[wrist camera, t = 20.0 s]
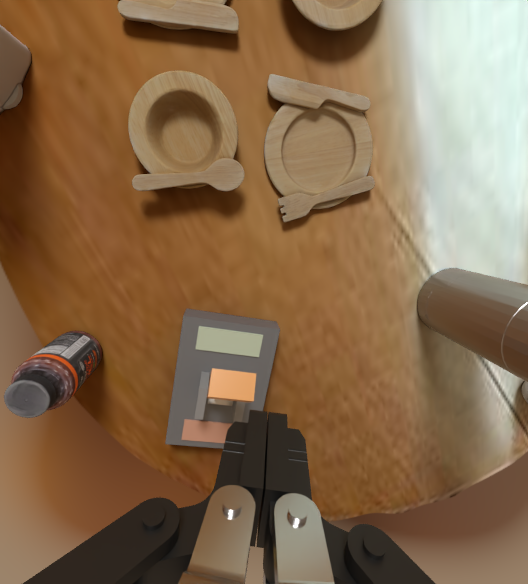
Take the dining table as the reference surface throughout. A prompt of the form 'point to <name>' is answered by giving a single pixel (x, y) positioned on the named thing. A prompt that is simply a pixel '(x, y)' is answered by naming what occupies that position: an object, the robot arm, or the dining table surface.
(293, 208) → the tableware set
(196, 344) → the switch block
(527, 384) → the frog figurine
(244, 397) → the breaker lever
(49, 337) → the dining table surface
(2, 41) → the tall pale column
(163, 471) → the dining table surface
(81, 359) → the supplement bottle
